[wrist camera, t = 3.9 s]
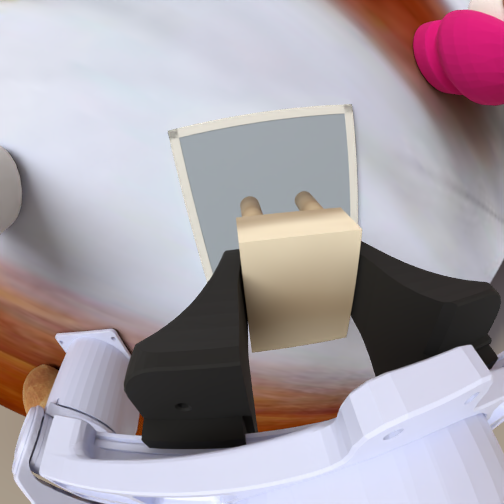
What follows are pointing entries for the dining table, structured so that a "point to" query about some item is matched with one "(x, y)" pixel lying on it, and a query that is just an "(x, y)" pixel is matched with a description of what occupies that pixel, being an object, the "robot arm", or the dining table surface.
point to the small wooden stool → (297, 272)
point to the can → (9, 190)
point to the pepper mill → (463, 55)
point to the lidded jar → (488, 7)
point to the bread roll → (38, 386)
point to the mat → (263, 169)
